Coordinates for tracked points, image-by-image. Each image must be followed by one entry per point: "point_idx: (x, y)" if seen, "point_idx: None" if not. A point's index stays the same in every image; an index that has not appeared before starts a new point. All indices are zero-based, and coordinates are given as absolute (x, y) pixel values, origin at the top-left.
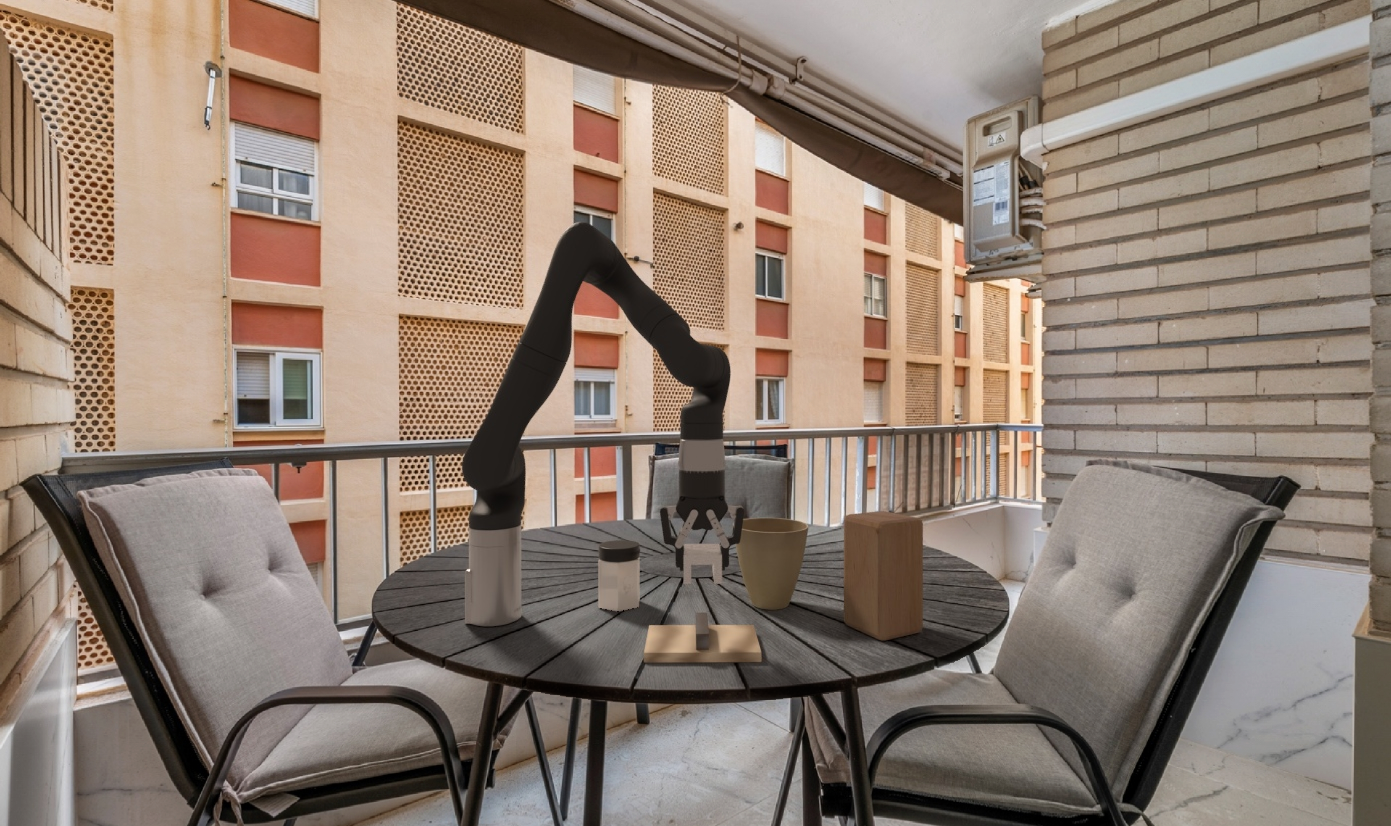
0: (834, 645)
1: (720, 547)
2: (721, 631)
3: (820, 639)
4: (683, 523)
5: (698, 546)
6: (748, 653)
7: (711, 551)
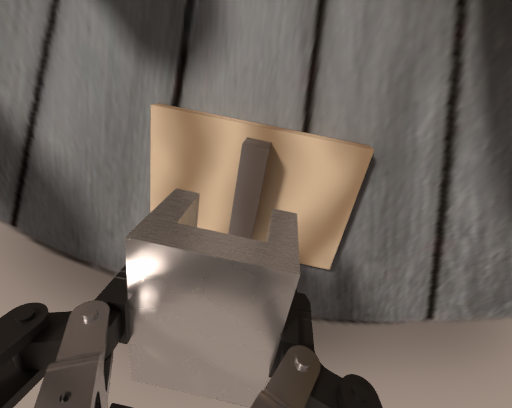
0: (487, 231)
1: (273, 362)
2: (293, 172)
3: (484, 201)
4: (37, 403)
5: (190, 297)
6: (309, 264)
7: (231, 370)
